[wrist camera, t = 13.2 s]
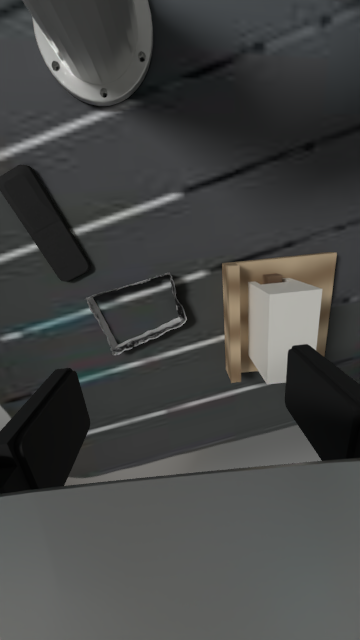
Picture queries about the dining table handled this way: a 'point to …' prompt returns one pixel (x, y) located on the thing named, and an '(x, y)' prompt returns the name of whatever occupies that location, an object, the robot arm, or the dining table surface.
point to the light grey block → (280, 323)
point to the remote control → (43, 222)
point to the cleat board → (292, 270)
